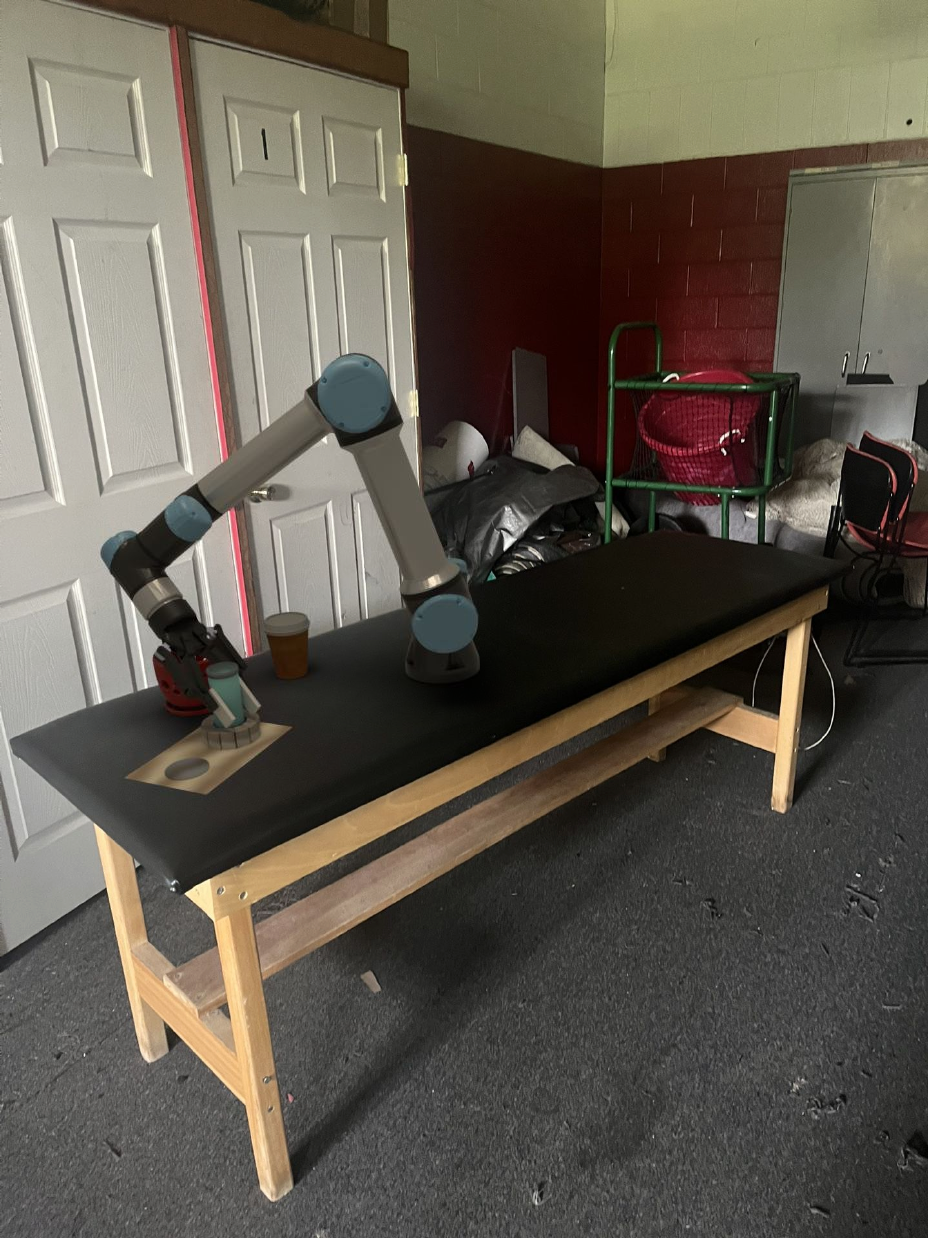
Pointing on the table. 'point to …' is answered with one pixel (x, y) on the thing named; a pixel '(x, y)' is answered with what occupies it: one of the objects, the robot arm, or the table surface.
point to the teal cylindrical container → (227, 690)
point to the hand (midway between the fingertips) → (243, 716)
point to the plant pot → (173, 694)
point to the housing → (209, 755)
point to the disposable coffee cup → (288, 643)
